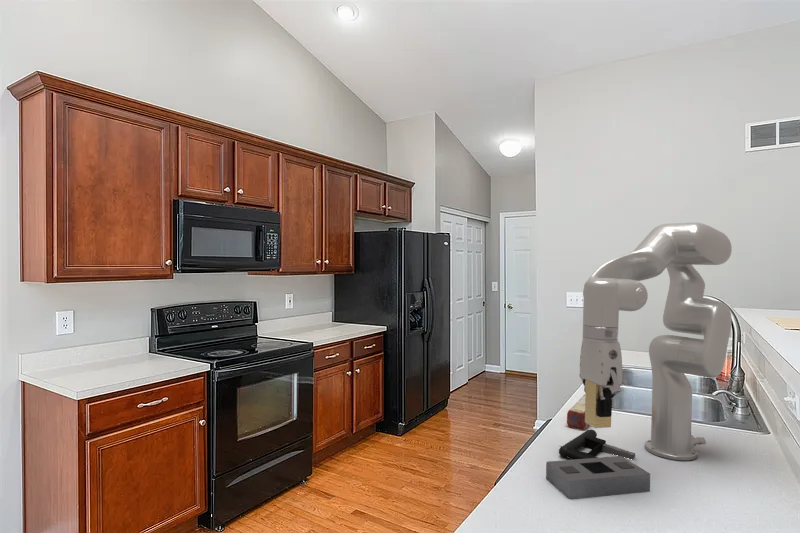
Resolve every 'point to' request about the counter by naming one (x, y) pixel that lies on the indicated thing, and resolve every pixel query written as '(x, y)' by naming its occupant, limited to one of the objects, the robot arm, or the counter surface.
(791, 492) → the counter surface
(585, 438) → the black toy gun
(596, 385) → the brass peg
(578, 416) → the snack package
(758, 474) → the counter surface
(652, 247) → the robot arm
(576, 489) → the grey peg hole block
